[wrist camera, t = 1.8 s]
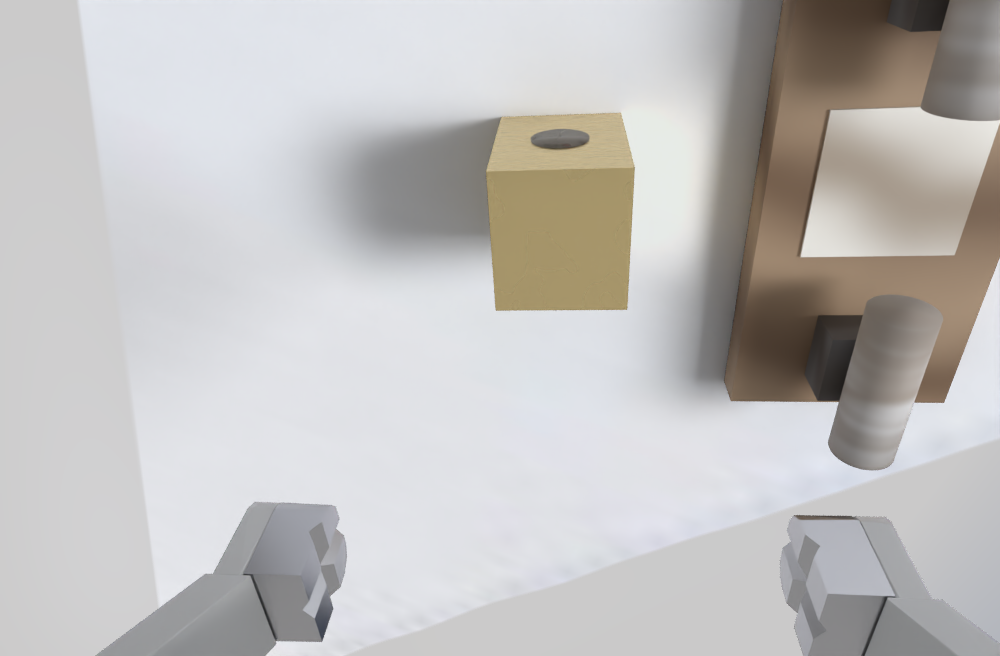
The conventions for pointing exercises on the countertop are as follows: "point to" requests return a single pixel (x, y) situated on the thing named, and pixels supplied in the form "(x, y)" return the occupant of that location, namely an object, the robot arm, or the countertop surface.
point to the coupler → (561, 212)
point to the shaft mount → (870, 213)
